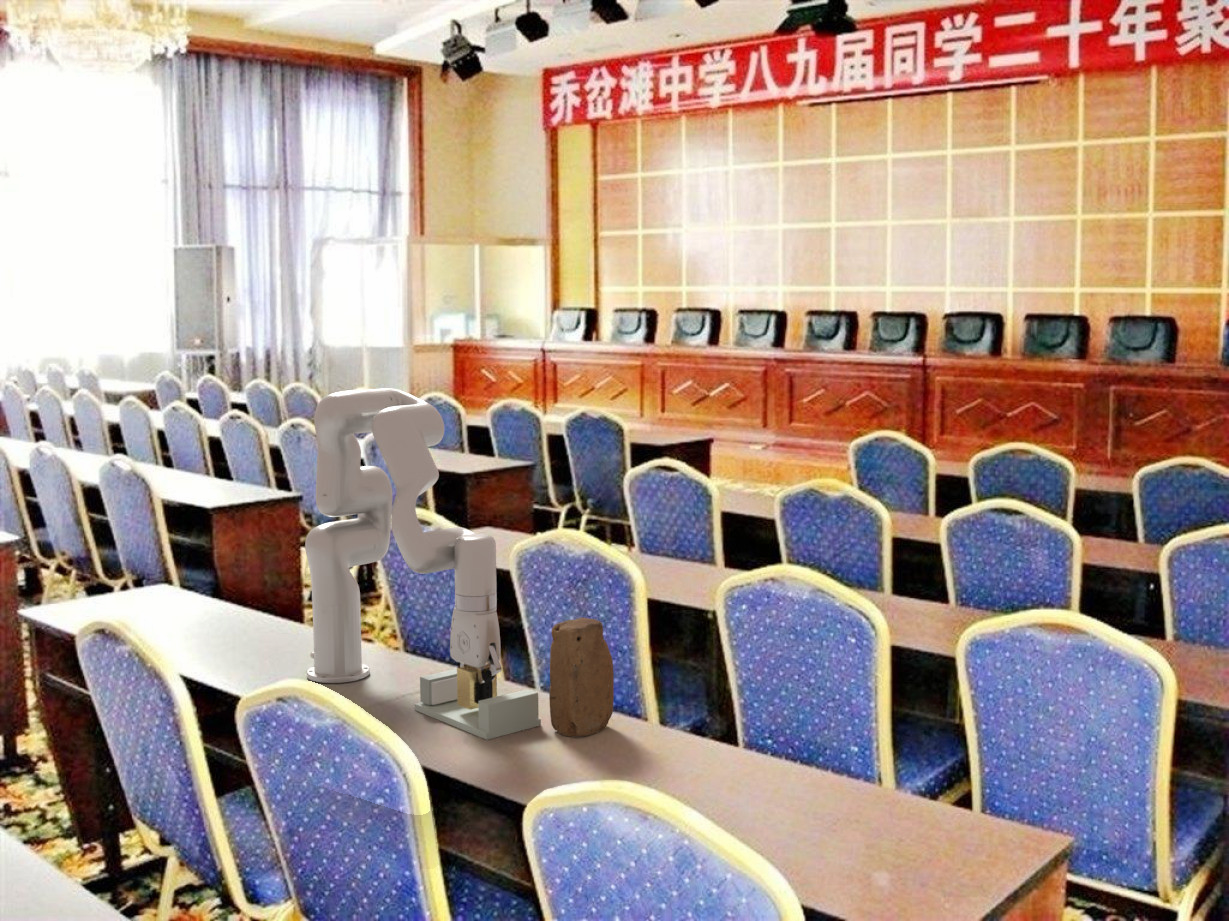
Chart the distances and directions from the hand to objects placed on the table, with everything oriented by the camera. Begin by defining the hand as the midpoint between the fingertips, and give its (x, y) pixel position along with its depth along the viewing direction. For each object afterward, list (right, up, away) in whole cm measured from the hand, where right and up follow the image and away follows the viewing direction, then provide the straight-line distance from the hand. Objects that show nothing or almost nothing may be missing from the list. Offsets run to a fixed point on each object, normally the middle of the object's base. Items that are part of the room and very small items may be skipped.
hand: (477, 698), depth 254 cm
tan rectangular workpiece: (0, -1, 0) cm, 1 cm away
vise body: (0, -4, +1) cm, 4 cm away
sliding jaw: (-6, -1, +7) cm, 10 cm away
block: (+20, -5, -7) cm, 21 cm away
